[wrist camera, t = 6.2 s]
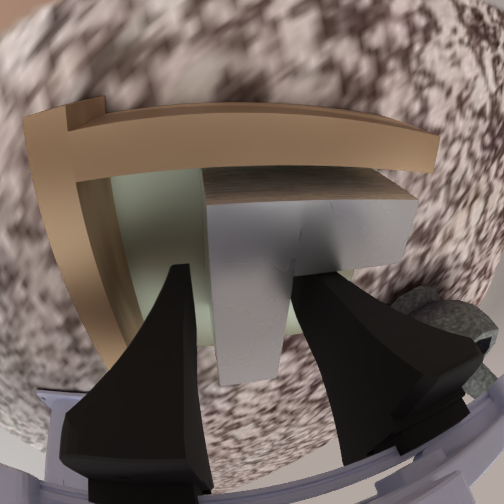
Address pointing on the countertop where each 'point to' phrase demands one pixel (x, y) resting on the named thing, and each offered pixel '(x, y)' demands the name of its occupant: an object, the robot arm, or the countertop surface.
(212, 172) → the bracket
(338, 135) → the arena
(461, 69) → the countertop surface
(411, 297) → the mortar and pestle
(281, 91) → the countertop surface
